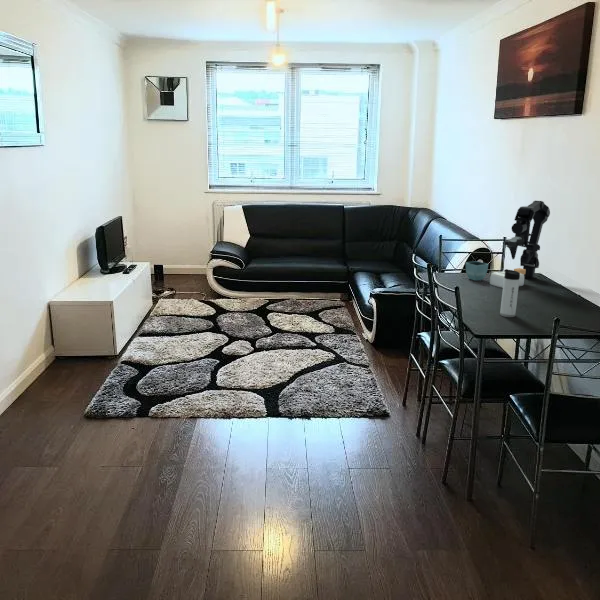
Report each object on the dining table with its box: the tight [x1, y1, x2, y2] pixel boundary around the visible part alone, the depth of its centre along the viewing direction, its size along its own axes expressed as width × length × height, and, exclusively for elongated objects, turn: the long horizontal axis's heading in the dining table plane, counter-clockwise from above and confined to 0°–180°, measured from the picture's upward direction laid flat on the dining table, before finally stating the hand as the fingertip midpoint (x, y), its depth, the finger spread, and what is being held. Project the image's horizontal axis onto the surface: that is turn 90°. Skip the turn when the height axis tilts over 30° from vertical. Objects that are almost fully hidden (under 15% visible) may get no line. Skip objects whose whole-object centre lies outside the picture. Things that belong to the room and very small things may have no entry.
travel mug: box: [499, 269, 520, 318], centre depth 265 cm, size 6×7×20 cm
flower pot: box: [465, 260, 489, 281], centre depth 329 cm, size 9×9×9 cm
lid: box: [490, 267, 526, 278], centre depth 320 cm, size 18×10×2 cm, turn 121°
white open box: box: [489, 274, 525, 289], centre depth 320 cm, size 14×10×5 cm
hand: (520, 261), depth 322 cm, fingers open, 9 cm apart
